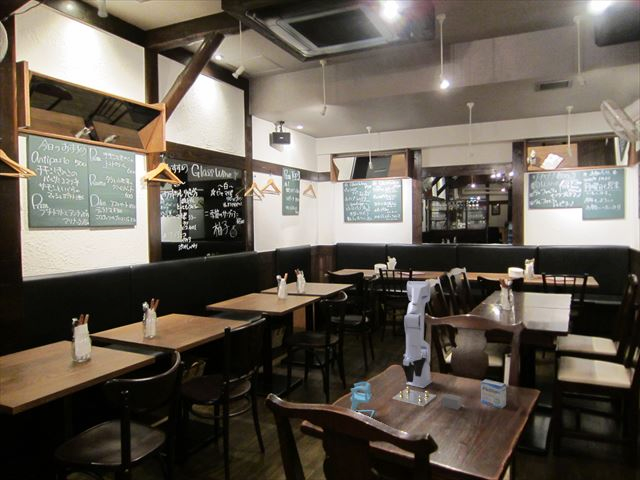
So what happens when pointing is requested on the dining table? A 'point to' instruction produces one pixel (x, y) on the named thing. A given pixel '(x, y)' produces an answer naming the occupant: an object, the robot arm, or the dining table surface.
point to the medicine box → (493, 393)
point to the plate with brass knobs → (414, 397)
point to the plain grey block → (451, 401)
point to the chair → (361, 396)
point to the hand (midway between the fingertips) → (414, 379)
